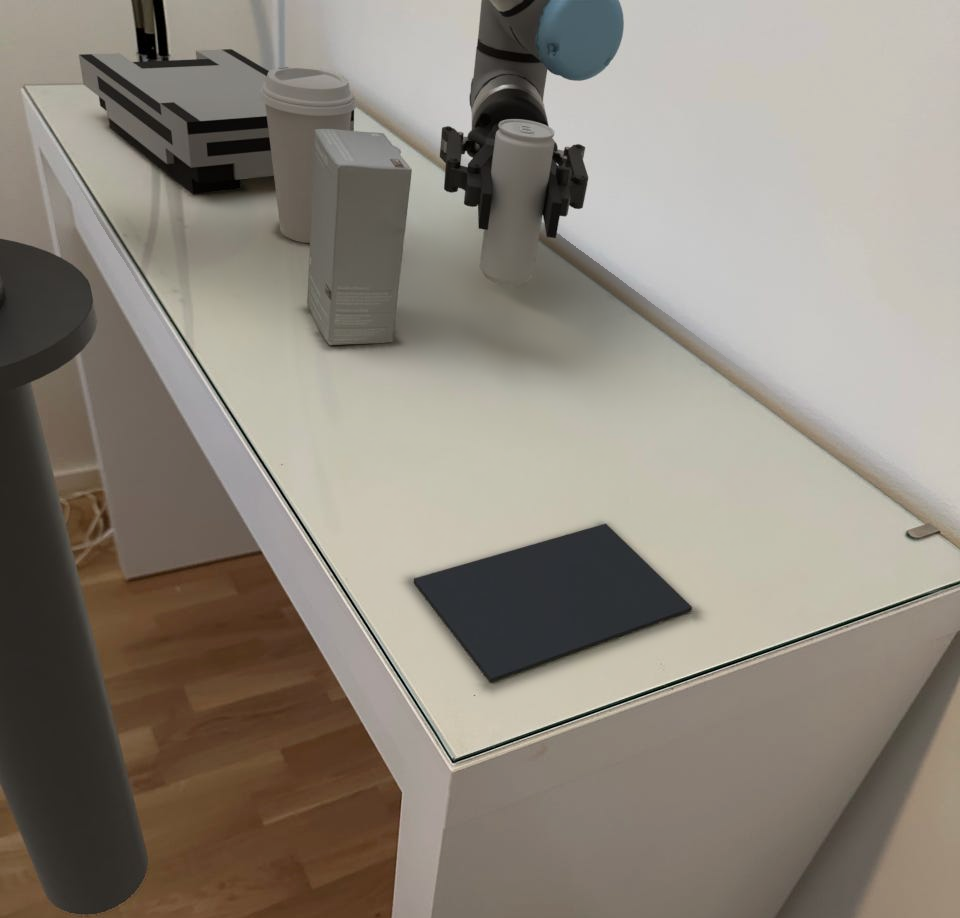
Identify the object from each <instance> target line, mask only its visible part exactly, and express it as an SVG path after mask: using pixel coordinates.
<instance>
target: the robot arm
mask: <svg viewBox="0 0 960 918" xmlns="http://www.w3.org/2000/svg"><path fill="white" fill-rule="evenodd" d="M624 23H625V19H624V12H623V8H622V5H621V2H620V0H481V1H480V13H479V22H478V33H477V42H476V49H475V58H474V68H473V76H472V78H471V82H470V93H469V99H468V101H469V106H470V112H471V130H470V131H469V132H468V133H467V136H464V134H465V133H464V132H462V131H457V130H456V129H455V128H454V127H452V126H450V125H446V126H443V127H442V128H441V134H440V135H441V138H440V145H439V147H440V148H439V149H440V150H439V158H440V159H441V160H442V161H443V162H444V163H445V166H444V167H445V169H444V182H443V183H444V184H443V190H444V191H446V192H447V193H452V194H453V193H457V192H458V191H459V189H460V190H461V189H462V190H463V191H464V197H463V205H464V206H466V207H470V208H471V207H472V208H475V207H477V216H478V217H477V218H478V219H477V220H478V230H484V229H485V230H488V225H489V217H490V209H491V201H492V181H491V168H492V160H493V152H494V144H495V136H496V132H497V131H498V130H499V127H498V125H499V122H501V121H503V120H508V119H522V120H529V121H534V122H538V123H541V124H544V125H546V126H549V122H548V115H547V113H546V109H545V108H546V107H545V104H544V94H545V88H546V82H547V75H548V72H550V73H551V74H553V75H555V76H560V77H562V78H563V79H565V80H568V81H574V82H575V81H576V82H577V81H578V82H582V81H586V80H589V79H592V78H594V77H596V76H598V75H599V74H601V73H602V72H603V71H604V70H605V69H606V68H607V67H608V66H609V65H610V63H611V62H612V61H613V60H614V58H615V56H616V55H617V52H618V51H619V48H620V46H621V44H622V39H623V37H624V27H625V24H624ZM549 127H550V126H549ZM585 151H586V147H585V146H584V145H582V144H580V143H576V144H573V145H571V146H565V147H564V148H563V149H559V147H558V144H557V142H556V141H555V140H554V149H553V155H552V161H551V167H550V173H549V179H548V186H547V192H546V198H545V204H544V210H543V216H542V219H543V223H544V230H545V234H546V235H545V236H546V238H551V239H556V238H557V234H558V228H559V222H560V217H567V216H568V214H569V208H570V207H571V208H573V209H575V210H582V209H583V208H584V203H585V199H586V193H587V189H588V183H589V174H588V172H587V169H586V165H585V162H584V157H585ZM466 153H467V155H468V157H470V158H472V159H470V161H469V162H468V163H467V166H465V165H461V164H462V156H463V155H465V154H466ZM5 296H6V295H5V289H4V285H3V281H2V277H1V275H0V307H1V306H2V305H3V303H4V300H5Z"/></svg>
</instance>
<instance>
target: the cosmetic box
mask: <svg viewBox="0 0 960 918" xmlns="http://www.w3.org/2000/svg"><path fill="white" fill-rule="evenodd" d="M401 154H402V150H401V149H400V148H399V147H397V146H395V145H393V144H392V142H391V141H390V139H389V138H388V137H387V135H386V134H385V133H384V132H374V131H373V132H372V131H360V130H359V131H358V130H354V131H347V130H337V129H316V130H315V143H314V166H313V189H312V211H311V231H310V243H309V253H308V255H309V256H308V273H307V274H308V279H307V295H306V297H307V298H306V304H307V308H308V309H309V311H310V314H311V316H312V318H313V321H314V322H315V324H316V326H317V327H318V329H319V332H320V333H321V335H322V337H323V338H324V340H325V341H326V343H327V344H328V345H329V346H339V345H340V346H341V345H358V344H359V345H362V344H367V345H368V344H385V343H393V342H394V333H395V325H396V315H397V305H398V297H399V288H400V279H401V270H402V260H403V253H404V242H405V233H406V226H407V218H408V207H409V199H410V192H411V181H412V174H413V172H412V170H413V169H412V167H411V166H409V164H408V163H407V161H406V160H405V159H404V158H403V157H402V155H401Z"/></svg>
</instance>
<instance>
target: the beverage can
mask: <svg viewBox="0 0 960 918" xmlns="http://www.w3.org/2000/svg"><path fill="white" fill-rule="evenodd" d="M498 127H499V130H498V131H497V132H496V136H495V144H494V152H493V160H492V168H491V181H492V201H491V209H490V217H489V225H488V230H485V229H483V236H482V244H481V252H480V261H479V269H480V271H481V273H482V275H483V276H484V277H485V278H486V279H487V280H489V281H491V282H492V283H496V284H498V285H503V286H520V285H524V284H526V283H527V282H528V281H529V280H530V279H531V278H532V277H533V276H534V271H535V270H534V269H535V264H536V257H537V252H538V245H539V240H540V233H541V227H542V221H543V210H544V204H545V198H546V192H547V186H548V179H549V173H550V167H551V161H552V155H553V149H554V141H555V139H554V136H555V130H554V129H553V128H552V127H550V126H546V125H544V124H541V123H538V122H534V121H529V120H522V119H508V120H503V121H501V122H499V125H498Z"/></svg>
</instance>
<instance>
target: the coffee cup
mask: <svg viewBox="0 0 960 918" xmlns="http://www.w3.org/2000/svg"><path fill="white" fill-rule="evenodd" d="M268 71H269V72H268V74H267V79H266V82H265V83H264V84H263V86H262V89H261V93H260V99H261V101H262V102H263V103H265V107H266V114H267V122H268V130H269V138H270V146H271V155H272V163H273V171H274V176H273V180H274V187H275V195H276V204H277V213H278V220H279V222H278V223H279V229H280V233H281V234H282V236H284V237H286V238H287V239H289V240H292V241H295V242H299V243H304V244H310V231H311V211H312V189H313V166H314V143H315V130H316V129H337V130H347V131H350V121H351V111H353V110H354V111H355V110H356V108H357V102H356V97H355V95H354V92H353V91H352V89H351V88H350V87H351V86H350V83H349V79H348V78H347V77H346V76H344V75H343V74H340V73H338V72H335V71H332V70H329V69H324V68H319V67H312V66H295V65H294V66H293V65H292V66H291V65H289V66H280V67H275V68H271V69H270V70H268Z"/></svg>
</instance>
